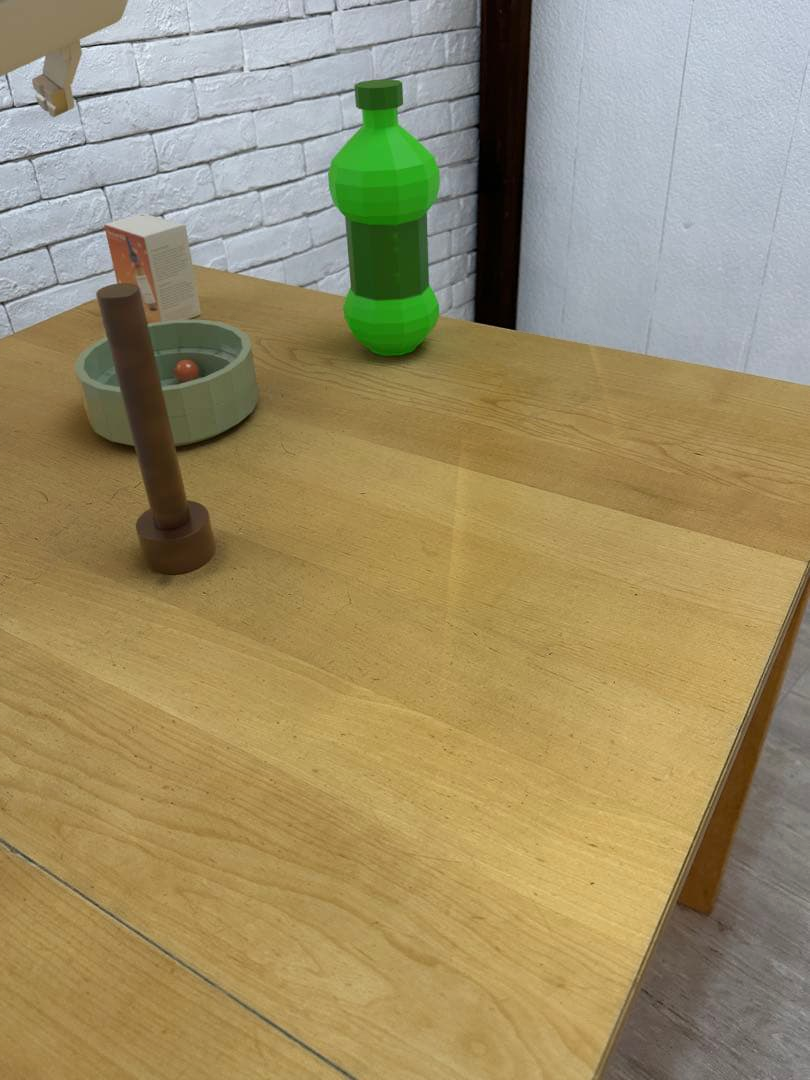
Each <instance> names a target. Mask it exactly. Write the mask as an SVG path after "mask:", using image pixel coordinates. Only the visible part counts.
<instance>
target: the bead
mask: <svg viewBox="0 0 810 1080" xmlns="http://www.w3.org/2000/svg"><path fill="white" fill-rule="evenodd" d="M174 376H175V378H176V379H177V380H178V381H179V382H180V383H185V382H189V381H192V380H196V379H198V376H199V368H198V366H197V365H196V363H195V362H193V361H191V360H188V359H184V360H181V361H179V362H178V363H177V364H176V365H175V367H174Z"/></svg>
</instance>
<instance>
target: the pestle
mask: <svg viewBox="0 0 810 1080" xmlns="http://www.w3.org/2000/svg"><path fill="white" fill-rule="evenodd" d="M95 295H96V300H97V304H98V308H99V311H100V315H101V320H102V324H103V329H104V331H105V335H106V336H105V337H107V339H108V343H109V347H110V351H111V355H112V359H113V363H114V367H115V371H116V375H117V379H118V383H119V387H120V391H121V395H122V399H123V403H124V407H125V411H126V415H127V419H128V422H129V426H130V430H131V434H132V438H133V442H134V446H133V447H134V450H135V454H136V457H137V462H138V466H139V469H140V473H141V477H142V482H143V485H144V489H145V494H146V497H147V501H148V505H149V508H148V509H146V510H144V512H142V513H141V514H140V516H138V518H137V520H136V521H135V522H136V523H135V531H136V535H137V538H138V541H139V546H140V549H141V553H142V556H143V560H144V564H145V566H147V568H148V569H149V570H151V571H152V572H155V573H157V574H162V575H180V574H186V573H189V572H192V571H194V570H198V569H199V568H201V567H203V566H204V565H206V564H207V563H208V562H210V561H211V559H212V558H213V557H214V555H215V553H216V547H217V546H216V542H215V536H214V532H213V528H212V522H211V518H210V517H211V516H210V513H209V510H208V508H207V507H206V506H205V505H203V504H201V503H200V502H197V501H193V500H188V498H187V495H186V489H185V484H184V480H183V476H182V472H181V467H180V463H179V459H178V453H177V449H176V447H175V444H174V440H173V435H172V431H171V426H170V422H169V417H168V413H167V408H166V404H165V400H164V395H163V391H162V386H161V382H160V377H159V373H158V368H157V364H156V359H155V355H154V350H153V346H152V341H151V337H150V332H149V328H148V322H147V319H146V314H145V310H144V305H143V301H142V296H141V292H140V288H139V286H138V285H136V284H131V283H118V284H117V283H113V284H109V285H106V286H103V287H101V288H99V289H98V290H97V291H96V293H95Z"/></svg>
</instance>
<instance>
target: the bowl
mask: <svg viewBox="0 0 810 1080" xmlns="http://www.w3.org/2000/svg"><path fill="white" fill-rule="evenodd" d="M147 323H148V322H147ZM148 328H149V332H150V337H151V341H152V346H153V350H154V355H155V359H156V364H157V368H158V373H159V377H160V382H161V386H162V391H163V395H164V400H165V404H166V408H167V413H168V417H169V422H170V426H171V431H172V435H173V440H174V444H175V448H176V447H182V446H188V445H192V444H196V443H199V442H203V441H207V440H209V439H212V438H214V437H217V436H219V435H221V434H223V433H225V432H227V431H229V430H231V429H232V428H233V427H235V426H237V425H238V424H240V423H241V422H242V421H243V420H244V419H246V418H247V417H248V416H249V415H251V414H252V412H254V409H256V406H257V404H258V401H259V399H260V393H259V387H258V381H257V375H256V369H255V368H256V367H255V362H254V361H255V360H254V355H253V354H254V353H253V348H252V344H251V339H250V336H249V335H248V334H247V333H245V332H244V331H243V330H242V329H241V328H238V327H236V326H234V325H231V324H228V323H225V322H221V321H216V320H215V321H214V320H208V319H207V320H206V319H189V320H171V321H163V322H155V323H148ZM184 359H188V360H191V361H193V362H195V363H196V365H197V366H198V368H199V376H198V379H196V380H192V381H189V382H185V383H180V382H179V381H178V380H177V379H176V378H175V376H174V367H175V365H176V364H177V363H178V362H179V361H181V360H184ZM74 375H75V378H76V381H77V385H78V389H79V392H80V397H81V400H82V403H83V406H84V411H85V413H86V417H87V420H88V423H89V425H90V426H91V428H92V429H93V431H94V433H95V434H96V435H99V436H101V437H103V438H104V439H106V440H108V441H110V442H113V443H119V444H123V445H127V446H131V447H135V446H134V442H133V438H132V434H131V430H130V426H129V422H128V419H127V415H126V411H125V407H124V403H123V399H122V395H121V391H120V387H119V383H118V379H117V375H116V371H115V367H114V363H113V359H112V355H111V351H110V347H109V343H108V339H107V336H105V337H102V338H101V339H99V340H97V341H96V342H94V343H92V344H90V345H89V346H87V347H86V348H85V349H84V350H83V351H82V352H81V353H80V354H79V356H78V357H76V359H75V364H74Z"/></svg>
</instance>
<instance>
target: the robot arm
mask: <svg viewBox="0 0 810 1080" xmlns="http://www.w3.org/2000/svg"><path fill="white" fill-rule="evenodd" d="M128 3H129V0H0V78H1V77H3V76H5V75H7V74H10V73H12V72H14V71H15V70H18V69H20V68H22V67H24V66H27V65H29V64H30V63H33V62H35V61H37V60H39V59H42V58H44V61H43V67H42V73H41V74H39V75H37V76H36V77H33V78H32V79H31V82H32V86H33V90H35V92H36V93H35V98H36V102H37V104H38V105H39V107H40V108H41V109H42V110H43V111H44V112H48V113H49V116H51V117H52V118H56V117H58V116H60V115H62V114H64V113H67V112H68V111H71V110H72V109H75V100H74V96H73V90H72V84H73V82H74V79H75V76H76V73H77V70H78V67H79V63H80V61H81V58H82V54H83V51H82V46H81V45H82V44H81V40H82V39H84V38H87V37H90V36H91V35H93V34H95V33H97V32H100V31H102V30H104V29H106V28H108V27H110V26H113V25H115V24H117V23H119V22H120V21H121V20H122V18H123V16H124V13H125V11H126V9H127V5H128Z"/></svg>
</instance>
